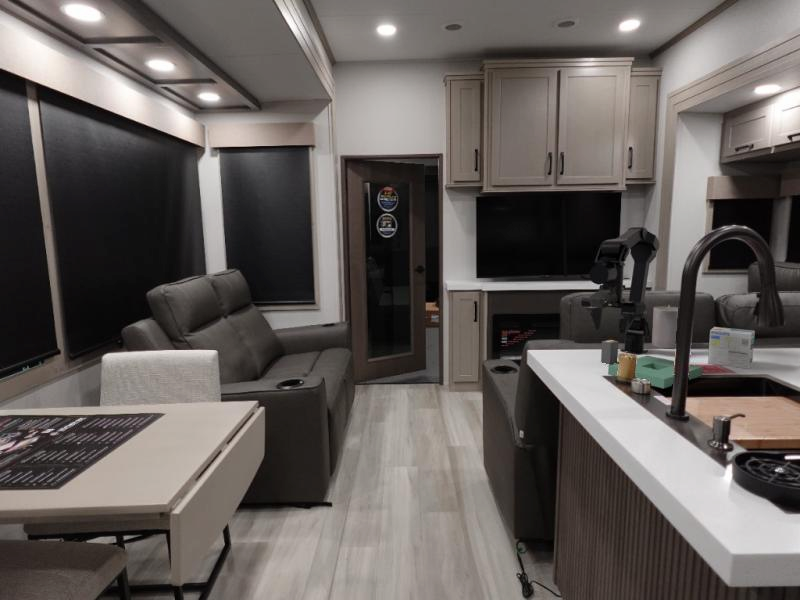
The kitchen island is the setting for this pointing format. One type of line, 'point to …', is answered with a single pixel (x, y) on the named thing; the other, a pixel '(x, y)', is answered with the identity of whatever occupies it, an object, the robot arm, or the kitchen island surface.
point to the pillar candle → (664, 326)
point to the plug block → (609, 352)
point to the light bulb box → (731, 347)
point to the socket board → (657, 370)
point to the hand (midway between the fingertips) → (610, 331)
